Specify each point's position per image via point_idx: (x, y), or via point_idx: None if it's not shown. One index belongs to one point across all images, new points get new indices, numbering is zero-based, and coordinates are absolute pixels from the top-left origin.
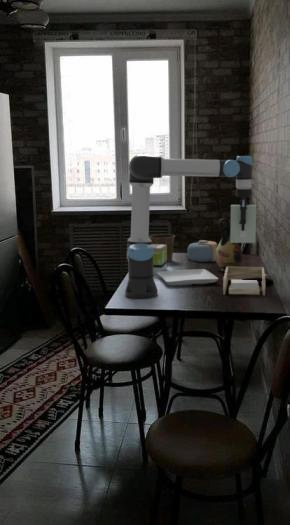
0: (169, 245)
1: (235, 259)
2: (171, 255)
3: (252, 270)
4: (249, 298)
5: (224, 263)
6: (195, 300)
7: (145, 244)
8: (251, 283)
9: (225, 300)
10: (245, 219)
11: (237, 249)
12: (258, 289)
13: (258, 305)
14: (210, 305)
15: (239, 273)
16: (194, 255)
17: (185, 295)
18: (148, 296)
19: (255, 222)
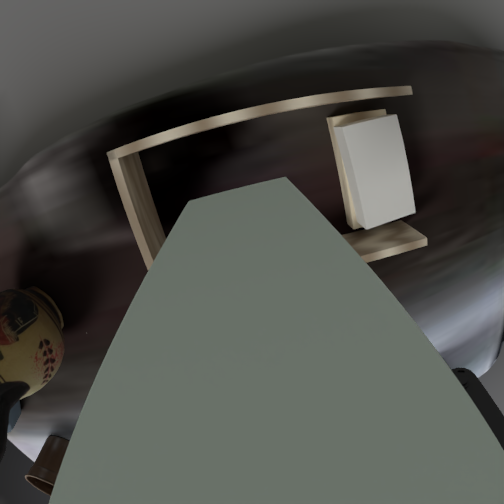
0: (56, 468)
1: (33, 310)
2: (54, 446)
3: (136, 197)
4: (430, 136)
5: (61, 335)
6: (463, 272)
7: None
8: (401, 140)
9: (459, 201)
10: (490, 399)
11: (1, 327)
12: (385, 113)
13: (481, 108)
14: (495, 225)
15: (158, 246)
16: (15, 410)
17: (422, 313)
18: (446, 363)
19: (361, 264)
